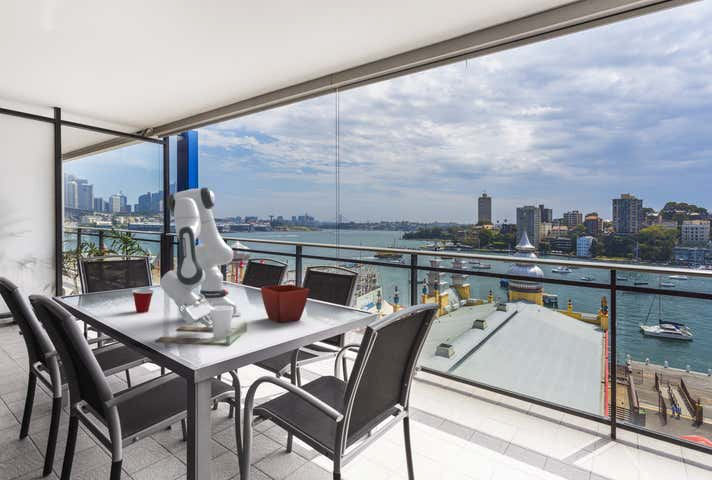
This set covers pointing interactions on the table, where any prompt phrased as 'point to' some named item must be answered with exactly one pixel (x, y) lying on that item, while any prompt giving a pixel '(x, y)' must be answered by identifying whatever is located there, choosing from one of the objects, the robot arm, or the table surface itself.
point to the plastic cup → (142, 299)
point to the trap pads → (197, 338)
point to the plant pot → (284, 302)
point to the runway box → (230, 338)
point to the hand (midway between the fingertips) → (210, 325)
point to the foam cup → (221, 321)
